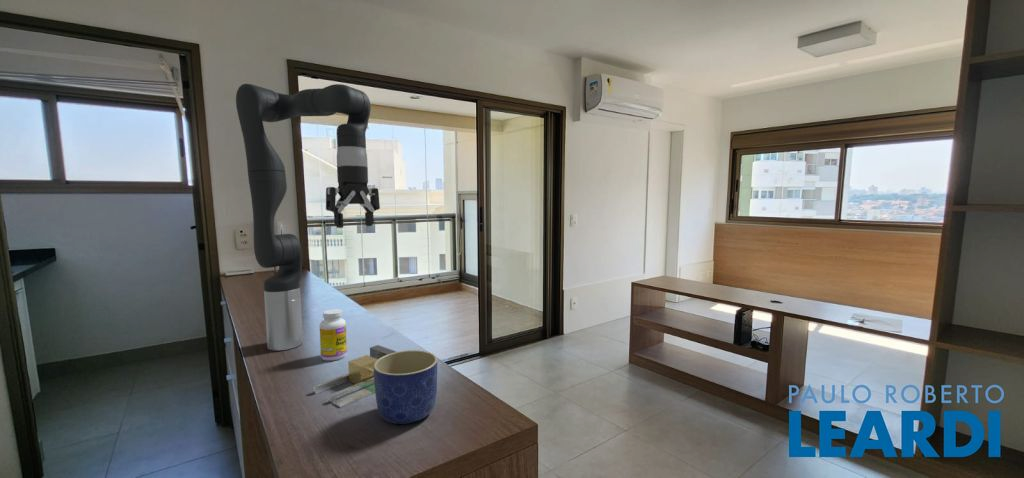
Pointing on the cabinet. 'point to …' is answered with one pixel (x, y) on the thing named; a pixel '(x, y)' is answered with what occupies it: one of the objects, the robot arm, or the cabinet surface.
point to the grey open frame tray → (356, 390)
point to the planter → (405, 385)
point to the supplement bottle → (333, 335)
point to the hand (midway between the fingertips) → (354, 226)
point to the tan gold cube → (361, 369)
